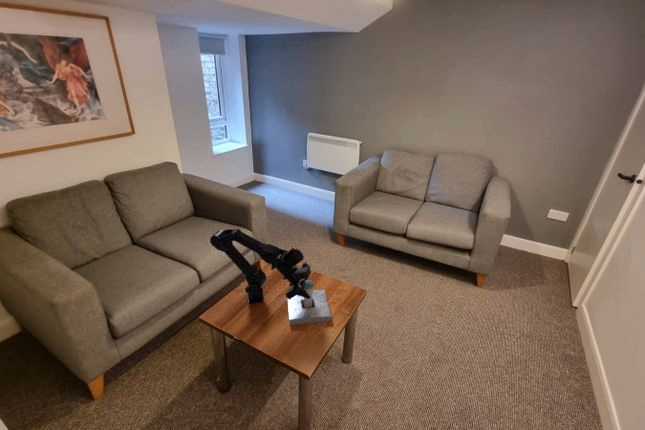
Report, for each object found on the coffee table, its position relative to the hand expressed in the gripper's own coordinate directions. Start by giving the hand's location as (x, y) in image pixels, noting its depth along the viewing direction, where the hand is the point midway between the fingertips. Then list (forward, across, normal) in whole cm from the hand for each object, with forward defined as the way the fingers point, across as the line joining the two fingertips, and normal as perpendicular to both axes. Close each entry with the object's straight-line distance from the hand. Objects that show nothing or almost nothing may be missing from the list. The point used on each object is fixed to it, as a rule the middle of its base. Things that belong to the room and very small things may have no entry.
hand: (311, 295), depth 140 cm
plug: (+4, 0, +6) cm, 7 cm away
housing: (+5, 0, +7) cm, 8 cm away
